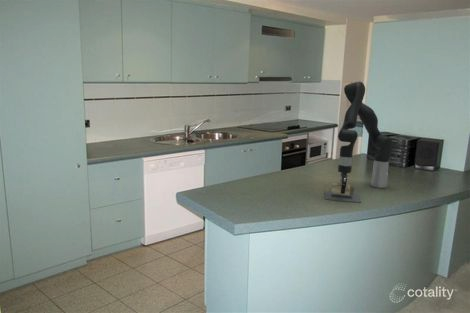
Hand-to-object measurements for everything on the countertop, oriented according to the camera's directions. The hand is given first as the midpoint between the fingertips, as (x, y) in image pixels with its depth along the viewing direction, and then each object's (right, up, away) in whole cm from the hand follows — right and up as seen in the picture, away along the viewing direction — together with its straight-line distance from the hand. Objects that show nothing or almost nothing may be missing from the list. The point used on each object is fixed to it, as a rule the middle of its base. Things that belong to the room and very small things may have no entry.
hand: (342, 192), depth 237 cm
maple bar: (0, -1, 0) cm, 1 cm away
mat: (0, -3, +1) cm, 3 cm away
